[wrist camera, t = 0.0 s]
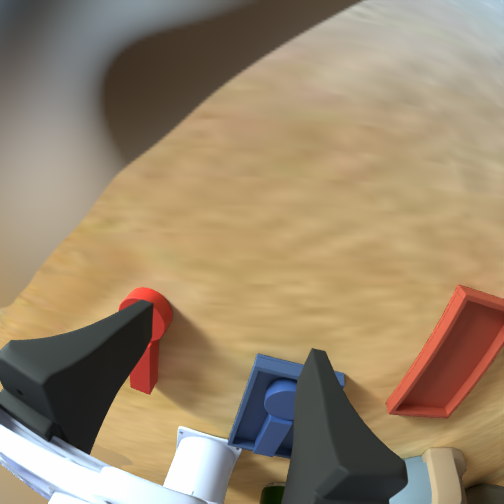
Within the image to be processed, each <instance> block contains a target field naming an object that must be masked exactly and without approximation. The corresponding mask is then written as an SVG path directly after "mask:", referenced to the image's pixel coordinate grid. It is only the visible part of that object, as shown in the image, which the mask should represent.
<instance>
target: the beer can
mask: <svg viewBox="0 0 504 504" xmlns="http://www.w3.org/2000/svg"><path fill="white" fill-rule="evenodd" d="M285 485H286V483H278V482H277V483H269V484H267V485H265V487H264V488H263V490H262V493H261V498H260V504H281V502H282V498H283V493H284V489H285Z"/></svg>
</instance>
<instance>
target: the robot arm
mask: <svg viewBox="0 0 504 504" xmlns="http://www.w3.org/2000/svg"><path fill="white" fill-rule="evenodd" d="M153 308H154V303H152V302H149V301H146V300H143V299H141V300H139V301H137V302H135V303H133V304H132V305H130V306H128V307H126V308H124V309H122V310H120V311H119V312H117V313H115V314H113V315H111V316H109V317H107V318H105V319H102V320H100V321H98V322H96V323H94V324H91V325H89V326H86V327H84V328H81V329H78V330H75V331H72V332H68V333H64V334H60V335H56V336H52V337H46V338H39V339H31V340H11V341H10V342H8V343H7V344H6V345H5V346H4V347H3V348H2V349H1V350H0V381H1V384H2V386H3V389H2V391H1V392H0V464H2V465H3V466H4V467H5V468H6V469H8V470H9V471H10V472H11V473H12V474H14V475H15V476H16V477H18V478H19V479H20V480H21V481H23V482H24V483H25V484H27V485H28V486H29V487H30V488H32V489H33V490H35V491H36V492H37V493H39V494H40V495H42V496H43V497H44V498H46V499H47V500H49V503H48V504H223V503H224V499H225V495H226V492H227V488H228V484H229V480H230V476H231V473H232V471H233V469H234V466H235V464H236V462H237V460H238V458H239V456H240V454H241V451H242V449H241V448H237V447H233V446H229V445H227V443H228V440H226V439H223V438H219V437H215V436H212V435H208V434H205V433H202V432H198V431H195V430H192V429H189V428H186V427H183V426H180V427H179V429H178V437H177V449H176V455H175V457H174V460H173V462H172V465H171V467H170V470H169V472H168V475H167V477H166V480H165V482H164V485H163V486H161V485H159V484H156V483H153V482H150V481H148V480H145V479H143V478H140V477H138V476H135V475H133V474H130V473H128V472H126V471H123V470H120V469H117V468H115V467H112V466H110V465H108V464H106V463H104V462H102V461H100V460H98V459H96V458H94V457H92V456H90V453H91V450H92V447H93V444H94V442H95V439H96V437H97V434H98V432H99V430H100V427H101V425H102V423H103V421H104V418H105V416H106V414H107V412H108V410H109V408H110V406H111V404H112V402H113V400H114V398H115V396H116V394H117V393H118V391H119V389H120V388H121V386H122V385H123V383H124V382H125V380H126V379H127V378H128V376H129V375H130V373H131V372H132V370H133V369H134V367H135V366H136V365H137V363H138V362H139V360H140V359H141V357H142V356H143V354H144V352H145V350H146V349H147V347H148V345H149V343H150V341H151V339H152V329H153ZM407 484H408V474H407V468H406V463H405V461H404V460H403V459H401V458H400V457H399V456H398V455H396V454H395V453H394V452H393V451H391V450H390V449H389V448H388V447H387V446H386V445H385V444H384V443H383V442H381V441H380V440H379V439H378V438H377V437H376V435H375V434H374V433H373V432H372V431H371V430H370V429H369V428H368V426H367V425H366V424H365V423H364V422H363V420H362V419H361V418H360V416H359V415H358V413H357V412H356V411H355V409H354V408H353V406H352V405H351V403H350V401H349V400H348V398H347V396H346V394H345V392H344V391H343V389H342V387H341V385H340V383H339V381H338V379H337V377H336V374H335V372H334V370H333V368H332V366H331V363H330V361H329V359H328V356H327V354H326V352H325V351H322V350H317V349H313V348H312V349H311V351H310V354H309V356H308V358H307V360H306V362H305V364H304V367H303V369H302V371H301V373H300V375H299V377H298V379H297V385H296V392H295V399H294V430H293V447H292V453H291V459H290V465H289V470H288V475H287V480H286V485H285V489H284V493H283V498H282V502H281V504H389V499H390V498H392V497H393V496H395V495H396V494H397V493H399V492H400V491H402V490H403V489H404V488H405V487H406V486H407Z"/></svg>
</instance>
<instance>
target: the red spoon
mask: <svg viewBox="0 0 504 504" xmlns="http://www.w3.org/2000/svg"><path fill="white" fill-rule="evenodd" d="M141 299H143V300H146V301H149V302H152V303H154V308H153V329H152V339H151V341H150V343H149V345H148V347H147V349H146V350H145V352H144V354H143V356H142V357H141V359H140V360H139V362H138V363H137V365H136V366H135V367H134V369H133V370H132V372H131V373H130V385H131V388H134V389H136V390H139V391H141V392H144V393H146V394H149V395H150V394H151V392H152V390H153V388H154V386H155V384H156V383H157V378H158V350H159V339H160V338H161V337H162V336H163V334H164V333H165V331H166V330H167V328H168V326H169V325H170V323H171V321H172V310H171V307H170V305H169V303H168V302H167V300H166V299H165V298H164V297H163V296H162V295H161V294H160V293H158V292H156V291H155V290H152V289H149V288H137V289H135V290H133V291H132V292H131V293H130V294H129V295H128V296H127V297H126V298H125V299H124V300H123V302H122V303H121V304H120V307H119V311H120V310H122V309H124V308H126V307H128V306H130V305H132V304H133V303H135V302H137V301H139V300H141Z"/></svg>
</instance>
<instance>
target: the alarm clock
mask: <svg viewBox="0 0 504 504" xmlns="http://www.w3.org/2000/svg"><path fill="white" fill-rule="evenodd" d="M403 460H404V461H405V463H406V468H407V474H408V484H407V486H406V487H405V488H404V489H403V490H402V491H400V492H399V493H397V494H396V495H395V496H393V497H392V498H390V499H389V504H467V499H466V494H465V490H464V485H463V481H462V476H463V474H464V473H465V471H466V461H465V458H464V455H463V453H462V452H461V451H460V450H459V449H455V448H451V447H446V448H428V449H427V450H426V451H425V452H424V453H423V455H422V456H416V457H412V458H407V459H403Z"/></svg>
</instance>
